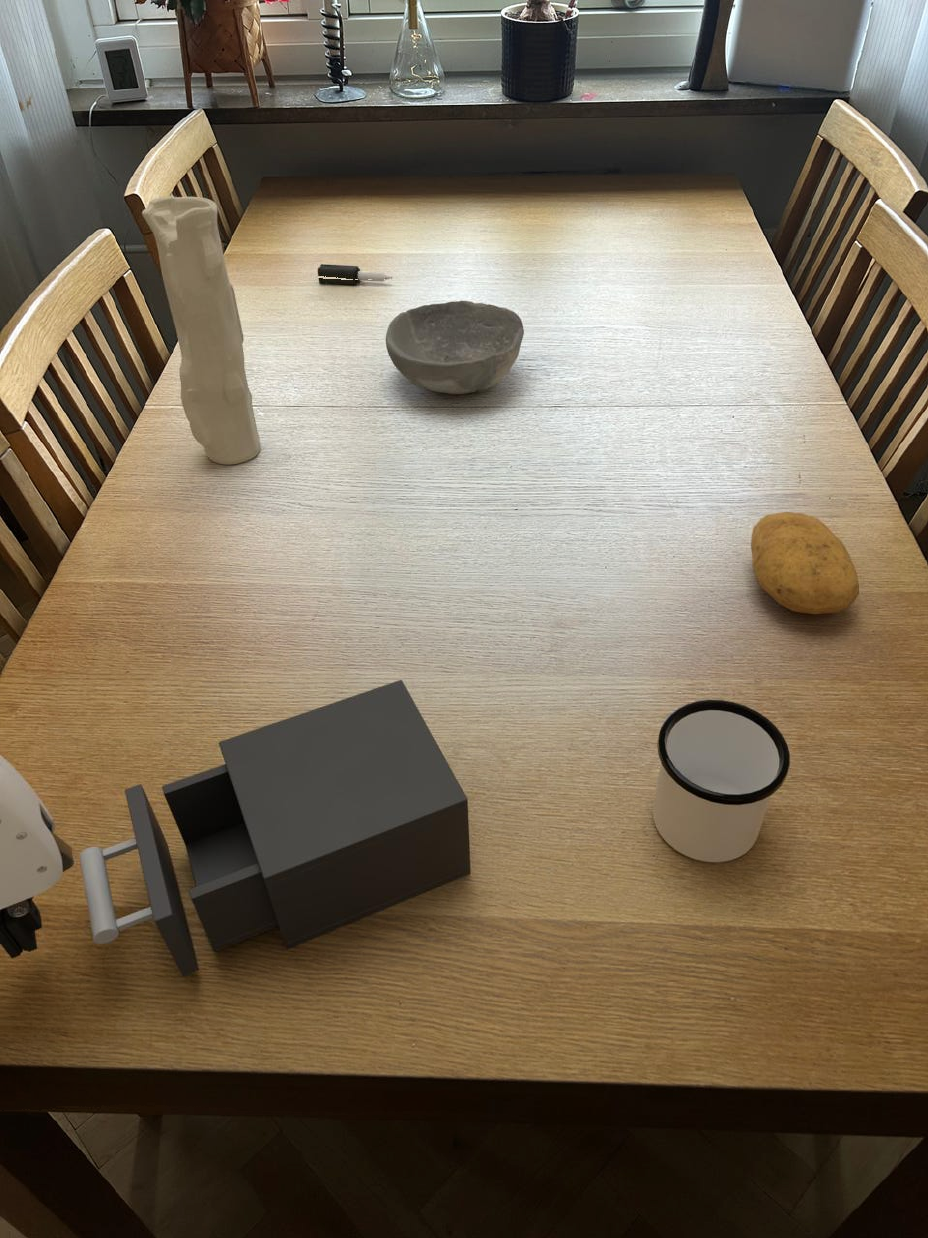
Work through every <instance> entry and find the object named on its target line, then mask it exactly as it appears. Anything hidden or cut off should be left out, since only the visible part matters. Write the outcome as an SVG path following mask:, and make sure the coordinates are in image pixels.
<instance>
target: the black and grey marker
mask: <svg viewBox="0 0 928 1238" xmlns="http://www.w3.org/2000/svg"><path fill="white" fill-rule="evenodd" d="M318 276H324V277H325V276H326V277H336V278H337V277H338V278H346V279H353V280H341V279H323V278H318ZM317 279H318V283H319V284H330V285H347V286H348V285H349V286H357V285H358V284H360V283H361V281H364V282H379V283H381V282H384V281H386V280H387V281H388V280H392V279H394V276H392V275H388V274H386V273H385V272H382V271H368V270H367V271H364V270H361V269H360V267H359V266H358V265H346V264H345V265H343V264H324V263H320V265H319V267H318V268H317ZM355 279H358V280H355ZM368 279H372V280H368ZM384 279H385V280H384Z"/></svg>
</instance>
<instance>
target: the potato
mask: <svg viewBox="0 0 928 1238" xmlns="http://www.w3.org/2000/svg"><path fill="white" fill-rule="evenodd" d="M750 549H751V557H752V568H753V573H754V575H755V580H756V581H757V582H758V584H759V586H760V587H761V589H762V590H764V591H765V592H766V593H767V594H768V595H769V596H771V597H772V598H773V599H774V600H775V601H776V602H777V604H779V605H780V606H783V607H785V608H787V609H789V610H790V611H792V612H795V613H801V614H802V613H803V614H808V615H809V614H810V615H820V614H821V615H822V614H830V613H840V612H842V611H843V610H844V609H846V608H847V607H849V606H850V605H852V604H853V603H855V601H856V600H857V598H858V597H859V596H860V584H859V577H858V571H857V570H856V567H855V564H854V562H853V560H852V558H851V556H850V554H849V552H848V550H847V549H846V547H845V545H844V543H843V542H842V540H841V539H840V538H839V537H838V536H837V535H836V534H834V532H833V531H832V530H831V529H830V528H829V526H827V525H826V524H825V523H824V522H823V521H821V520H820V519H819V518H818V517H814V516H811V515H809V514H804V513H803V512H791V511H784V512H777V513H771V514H766V515H764V516H762V517H761V518H760V519H759V520H758V522H757V523H756V524H755V525H754V526H753V528H752V532H751V541H750Z"/></svg>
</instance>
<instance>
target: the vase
mask: <svg viewBox="0 0 928 1238" xmlns="http://www.w3.org/2000/svg"><path fill="white" fill-rule="evenodd" d="M141 215H142V217H143V218H144V220H145V222H146V224H147V225H148V227H149V228H150V230H151V232H152V234H153V236H154V239H155V243H156V247H157V251H158V258H159V264H160V270H161V276H162V280H163V285H164V288H165V293H166V297H167V301H168V304H169V308H170V312H171V316H172V321H173V323H174V324H173V325H174V328H175V332H176V337H177V341H178V346H179V350H180V356H181V360H180V366H179V368H178V369H179V381H180V400H181V401H180V402H181V405H182V409H183V411H184V414H185V417H186V419H187V420H188V422H189V428H190V432H191V434H192V436H193V438H194V439H195V441H196V442H197V443H198V444H200V445H201V446H202V447H203V448H204V452H205V454H206V455H207V457H208V458H209V459H210V461H212V462H215V463H216V464H219V465H237V464H241V463H244V462H247V461H249V460H252V459H254V458H255V457H256V456H258V454H259V453H260V451H261V438H260V434H259V430H258V426H257V421H256V416H255V412H254V411H255V410H254V406H253V395H252V391H251V390H250V387H249V383H248V379H247V374H246V367H245V366H246V365H245V353H244V345H243V343H244V340H245V339H244V331H243V328H242V323H241V318H240V314H239V308H238V304H237V299H236V294H235V293H236V292H235V289H234V286H233V284H232V283H231V282H230V279H229V274H228V273H229V272H228V270H227V265H226V264H227V263H226V260H225V255H224V250H223V247H222V246H223V245H222V242H221V241H222V240H221V236H220V232H219V226H218V206H217V204H216V203H215V202H214V201H213V200H212V199H208V198H206V197H199V196H174V195H167V196H160V197H156V198H153V199H151V200H150V201H149V202H148V205H147V206H146V207H145V208H144V209H143V210H142V213H141Z"/></svg>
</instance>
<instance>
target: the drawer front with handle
mask: <svg viewBox="0 0 928 1238" xmlns="http://www.w3.org/2000/svg"><path fill="white" fill-rule="evenodd" d="M161 789H162V792H163V796H164V798H165V800H166V803H167V805H168V808H169V810H170V812H171V814H172V817H173V819H174V822H175V825H176V827H177V830H178V832H179V834H180V837H181V838H182V841H183V844H184V846H185V850H186V854H187V858H188V862H189V866H190V869H191V872H192V873H191V874H192V877H193V880H194V883H195V886H194V887H192V888H189V889H188V892H189V896H190V899H191V902H192V905H193V906H194V908H195V911H196V913H197V915H198V918H199V920H200V923H201V924H202V927H203V929H204V931H205V933H206V936H207V938H208V940H209V943H210V946H211V947H212V949H213V951H214V952H215V953H216V952H219V951H221V950H223V949H226V948H229V947H231V946H233V945H236V944H239V943H241V942H243V941H247V940H248V939H251V938H253V937H255V936H258V935H261V934H263V933H266V932H268V931H271V930H273V929H275V928H278V927H279V925H278V922H277V919H276V915H275V912H274V909H273V906H272V903H271V900H270V897H269V894H268V891H267V888H266V885H265V882H264V879H263V876H262V873H261V870H260V867H259V864H258V861H257V858H256V855H255V852H254V849H253V846H252V843H251V839H250V836H249V833H248V830H247V827H246V824H245V821H244V818H243V815H242V812H241V809H240V806H239V803H238V800H237V797H236V794H235V791H234V788H233V785H232V782H231V779H230V776H229V773H228V770H227V767H226V764H225V763H224V764H221V765H219V766H216V767H213V768H210V769H208V770H204V771H201V772H199V773H195V774H193V775H190V776H187V777H184V778H181V779H178V780H176V781H173V782H170V783H167V784H164V785H162V786H161ZM124 793H125V798H126V802H127V806H128V811H129V816H130V820H131V824H132V830H133V834H134V838H130V839H128V840H125V841H123V842H120V843H117V844H114V845H112V846H109V847H106V848H101V847H99V846H90V847H87V848H85V849H83V850H82V851H81V852H80V853H79V856H78V857H79V863H80V870H81V876H82V881H83V887H84V892H85V898H86V899H85V900H86V904H87V911H88V916H89V923H90V928H91V933H92V934H91V935H92V940H93V942H94V943H96V944H98V945H104V944H109V943H112V942H113V941H115V940H116V939H117V938H118V937H119V934H120V932H121V931H124V930H126V929H129V928H131V927H134V926H136V925H139V924H141V923H144V922H147V921H149V920H151V919H153V922H154V924H155V926H156V928H157V930H158V932H159V934H160V936H161V938H162V940H163V942H164V943H165V946H166V948H167V950H168V952H169V953H170V956H171V957H172V959H173V961H174V963H175V965H176V967H177V969H178V971H179V973H180V975H181V977H182V978H183V977H187V976H189V975H192V974H195V973H196V972H199V971H200V968H199V963H198V959H197V955H196V952H195V947H194V943H193V939H192V936H191V932H190V927H189V923H188V919H187V914H186V911H185V908H184V903H183V899H182V896H181V891H180V888H179V884H178V880H177V875H176V871H175V868H174V864H173V859H172V856H171V853H170V852H171V851H170V848H169V844H168V842H167V839H166V837H165V835H164V832H163V830H162V828H161V825H160V824H159V821H158V818H157V816H156V814H155V812H154V810H153V807H152V806H151V803H150V801H149V799H148V796H147V794H146V792H145V790H144V787H143V785H142V784H141V783H140V784H137V785H133V786H131V787H128V788H125V789H124ZM136 850H137V851H138V857H139V860H140V865H141V870H142V874H143V879H144V882H145V887H146V892H147V897H148V900H149V906H148V907H145V908H144V909H141V910H138V911H136V912H133V913H130V914H128V915H125V916H122V917H120V918H116V917H117V916H116V911H115V906H114V901H113V896H112V890H111V885H110V880H109V875H108V869H107V864H106V861H108V860H111V859H113V858H117V857H119V856H121V855H122V856H123V855H125V854H127V853H130V852H133V851H136Z"/></svg>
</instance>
